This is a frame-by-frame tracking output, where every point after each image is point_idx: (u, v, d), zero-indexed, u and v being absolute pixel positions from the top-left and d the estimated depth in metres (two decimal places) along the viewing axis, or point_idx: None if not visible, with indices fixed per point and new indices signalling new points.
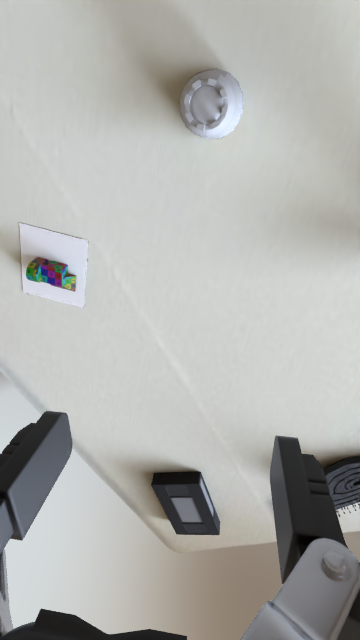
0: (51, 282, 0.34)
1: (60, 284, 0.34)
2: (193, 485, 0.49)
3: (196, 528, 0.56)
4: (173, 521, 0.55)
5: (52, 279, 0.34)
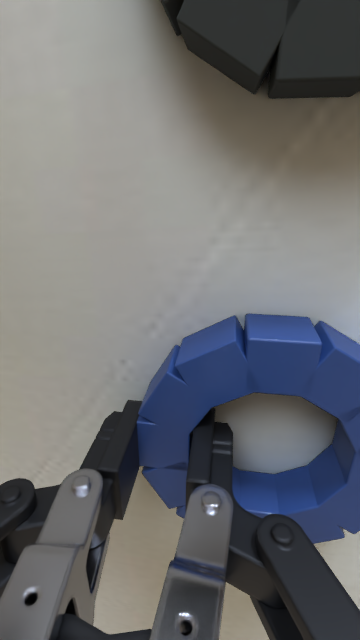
0: None
1: None
2: None
3: None
4: None
5: None
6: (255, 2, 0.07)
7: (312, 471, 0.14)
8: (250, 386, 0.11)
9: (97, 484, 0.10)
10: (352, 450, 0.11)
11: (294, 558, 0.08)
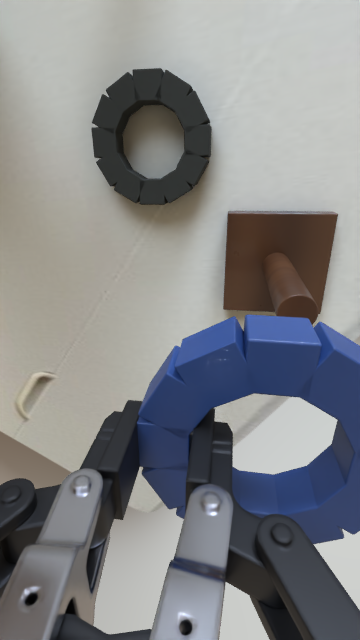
0: None
1: None
2: None
3: None
4: None
5: None
6: (132, 187, 0.28)
7: (312, 472, 0.14)
8: (250, 388, 0.11)
9: (97, 484, 0.10)
10: (352, 450, 0.11)
11: (294, 558, 0.08)
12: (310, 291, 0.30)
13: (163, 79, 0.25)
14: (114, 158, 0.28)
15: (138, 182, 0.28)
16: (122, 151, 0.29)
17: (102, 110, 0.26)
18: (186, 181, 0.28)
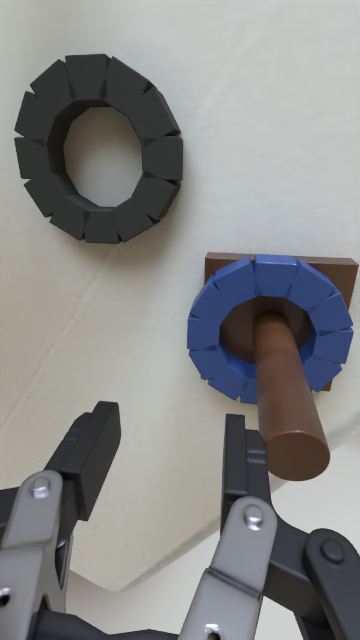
0: None
1: None
2: None
3: None
4: None
5: None
6: (73, 220, 0.21)
7: None
8: (256, 292, 0.19)
9: (56, 485, 0.10)
10: (315, 333, 0.20)
11: (348, 577, 0.07)
12: None
13: (109, 70, 0.17)
14: (47, 180, 0.20)
15: (81, 213, 0.20)
16: (63, 169, 0.21)
17: (26, 114, 0.19)
18: (146, 214, 0.20)
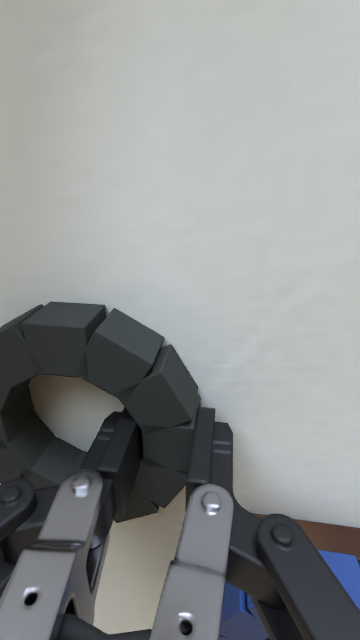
0: None
1: None
2: None
3: None
4: None
5: None
6: None
7: None
8: None
9: (97, 484, 0.10)
10: None
11: (294, 558, 0.08)
12: None
13: (90, 346, 0.11)
14: (4, 451, 0.14)
15: None
16: (29, 414, 0.15)
17: None
18: (149, 500, 0.14)
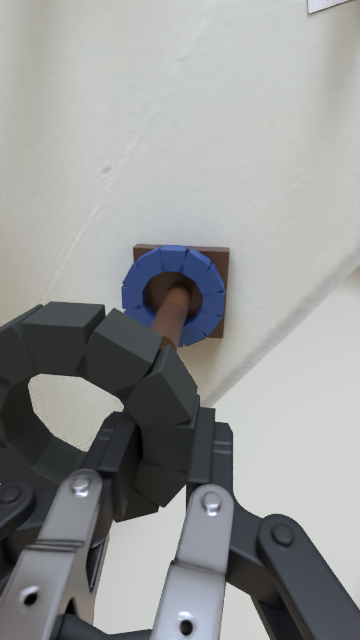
0: None
1: None
2: None
3: None
4: None
5: None
6: None
7: (195, 315, 0.33)
8: (162, 269, 0.30)
9: (96, 484, 0.10)
10: None
11: (295, 558, 0.08)
12: None
13: (90, 346, 0.11)
14: (4, 451, 0.14)
15: None
16: (28, 414, 0.15)
17: None
18: (149, 500, 0.14)
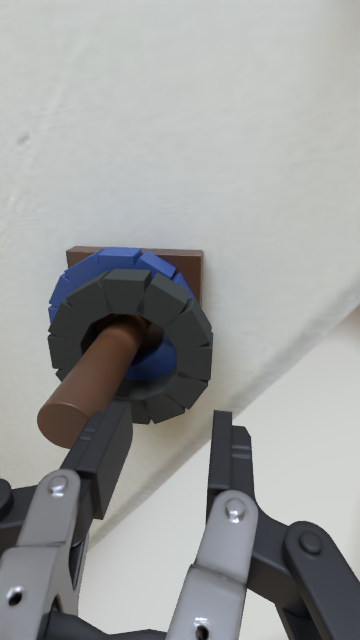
0: None
1: None
2: None
3: None
4: None
5: None
6: None
7: (158, 345, 0.23)
8: None
9: (74, 484, 0.10)
10: None
11: (324, 567, 0.08)
12: None
13: (147, 293, 0.18)
14: None
15: (113, 399, 0.21)
16: None
17: (61, 320, 0.19)
18: (178, 404, 0.20)
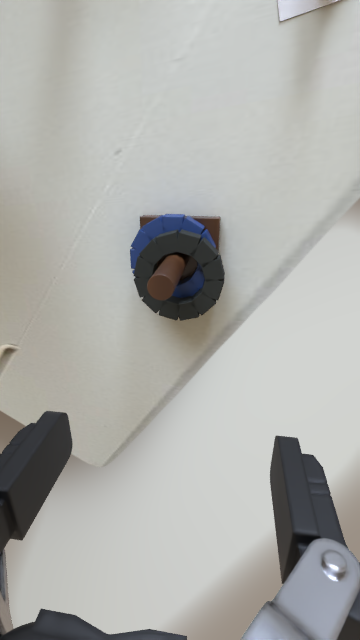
0: None
1: None
2: None
3: None
4: None
5: None
6: (156, 303, 0.37)
7: (192, 274, 0.39)
8: None
9: None
10: None
11: None
12: None
13: (199, 245, 0.34)
14: None
15: (161, 301, 0.37)
16: None
17: (148, 249, 0.35)
18: (197, 311, 0.37)
